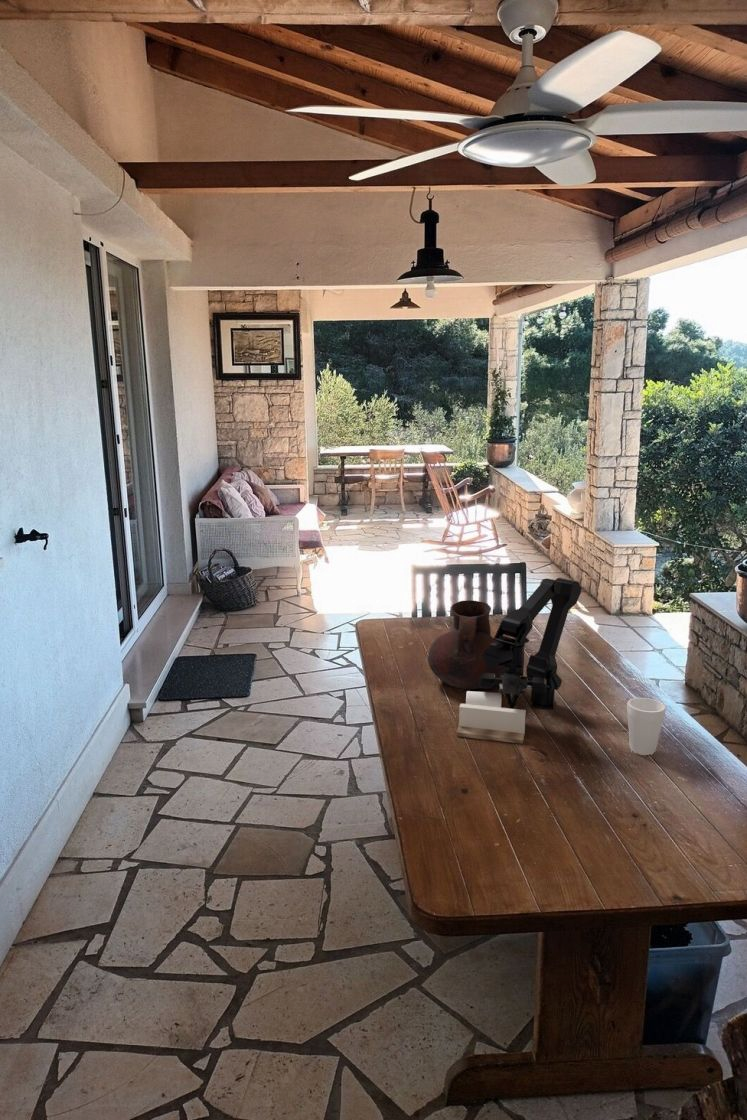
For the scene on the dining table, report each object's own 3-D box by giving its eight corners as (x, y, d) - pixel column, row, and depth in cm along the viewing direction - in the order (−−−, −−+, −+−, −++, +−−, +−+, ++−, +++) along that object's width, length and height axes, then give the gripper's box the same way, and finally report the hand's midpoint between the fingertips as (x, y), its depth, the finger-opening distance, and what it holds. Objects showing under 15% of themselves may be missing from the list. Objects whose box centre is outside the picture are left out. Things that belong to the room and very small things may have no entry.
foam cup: (661, 745, 209) (665, 700, 206) (661, 761, 200) (666, 714, 197) (624, 740, 212) (627, 695, 209) (623, 755, 203) (626, 709, 201)
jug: (417, 691, 245) (418, 615, 240) (441, 664, 268) (442, 595, 262) (495, 703, 236) (498, 624, 231) (512, 674, 259) (515, 602, 253)
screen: (524, 733, 216) (525, 710, 214) (522, 743, 210) (523, 719, 208) (460, 726, 221) (460, 703, 219) (456, 736, 215) (457, 712, 213)
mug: (500, 725, 221) (501, 699, 219) (465, 723, 222) (466, 697, 221) (500, 708, 232) (501, 683, 231) (467, 706, 234) (467, 681, 232)
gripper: (477, 666, 216) (476, 719, 219) (546, 672, 211) (543, 725, 215) (482, 653, 226) (480, 703, 230) (547, 658, 222) (545, 709, 225)
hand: (511, 710), depth 225 cm, fingers closed
